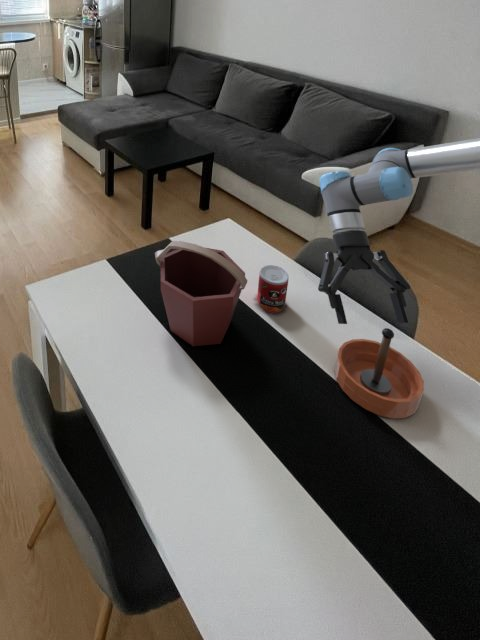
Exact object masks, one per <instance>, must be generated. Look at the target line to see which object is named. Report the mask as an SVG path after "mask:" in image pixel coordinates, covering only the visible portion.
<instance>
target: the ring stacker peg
mask: <svg viewBox="0 0 480 640" xmlns="http://www.w3.org/2000/svg"><path fill="white" fill-rule="evenodd" d="M381 335H382V336H381V341H380V343H381V345H380V348H379V352H378V356H377V360H376V364H375V368H374V370H372V369H366V370H363V371H362V372H361V376H360V381H361V383H362V385H363V386H364V387H365V388H366V389H368V390H370V391H372V392H374V393H376V394H379V395H381V396H385V395H388V394H389V393H390V391H391V383H390V381H389V379H388V378H387V377H386V376H385V375H383V374H382V373H383V369H384V365H385V361H386V358H387V354H388V350H389V347H391V342H392V339H393V338H394V337H395V333H394V331H393V330H392V329H391V328H388V327H386V328H382V331H381Z"/></svg>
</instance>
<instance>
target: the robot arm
mask: <svg viewBox="0 0 480 640" xmlns="http://www.w3.org/2000/svg"><path fill="white" fill-rule="evenodd" d="M475 171H480V137H476V138H471V139H465V140H458V141H453V142H445V143H439V144H433V145H427V146H421V147H416V148H409V149H400V148H395V147H386V148H383V149H381V150H380V151H379V152H378V153H377V154H376V155H375V156H374V157H373V159H372V162H371V165H370V167H369V169H368V171H367V172H366V173H363V174H358V175H354V176H351V173H349V172H348V171H345V170H336V171H330V172H326V173H324V174H322V175H321V176H320V177H319V180H318V181H319V187H320V194H321V196H322V200H323V204H324V208H325V210H326V215H327V219H328V223H329V224H328V225H329V227H330V231H331V232H332V233H333V234H332V240H333V243H334V247H335V251H336V252H332V251H327V252H324V253H323V257H324V258H323V259H324V263H323V268H322V271H321V275H320V280H319V283H318V287H317V288H318V289H317V290H318V291H319V292H320V293H325V295H327V296H328V302H329V305H330V308H331V309H334V310H335V311H334V312H335V315H336V319H337V324H338V325H348V321H347V317H346V313H345V309H344V305H343V301H342V297H341V294H340V293H337V292H338V290H339V288H340V287H341V284H342V283H343V281H344V280H345V278H346V276H347V274H348V273H349V272H351V271H353V272H354V271H367V272H369V273H370V274H372V275H373V276H374V277H375V278H376V279H378V280H379V282H381V283H382V284H383V285H384V286H385V287H387V288H388V289H389V290H390V291H391V292H389V296H390V300H391V304H392V307H393V311H394V314H395V317H396V321H397V323H401V324H408V323H409V320H408V317H407V313H406V309H405V308H407V302H406V299H405V296H404V293H405V292H406V291H407V290H410V289H411V285H410V283H408V281H407V280H406V279H405V278H404V277H403V275H402V274H401V272H399V270H398V269H397V268H396V266H394V264H393V263H392V262H391V260H390V259H389V258H388V255H387V253H386V250H384V249H381V250H377V251H372V249H371V244H370V241H369V237H368V233H367V232H366V231H365V230H366V226H365V222H364V219H363V215H362V212H361V208H360V207H361V206H362V207H363V206H367V205H372V204H378V203H384V202H389V201H398V200H401V199H404V198H409V197H411V196H412V195H413V194H414V187H413V186H414V184H413V182H412V179H418V178H425V177H434V176H442V175H443V176H444V175H451V174H460V173H469V172H475ZM337 260H338V261H339V262H340V265H339V266H338V268H337V271H336V273H335V275H334V276H333V278H332V274H333V270H334V266H335V262H336V261H337ZM374 260H376V261H377V262H378V264H379V265H380V266H381V267H382V269H383V270H384V271H383V270H382V269H381V268H380V267H379V265H378V264H377V263H375V262H374ZM331 279H332V280H331Z"/></svg>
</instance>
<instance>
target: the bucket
mask: <svg viewBox="0 0 480 640" xmlns="http://www.w3.org/2000/svg"><path fill="white" fill-rule="evenodd" d="M170 250H172V251H170ZM169 251H170V252H169ZM154 257H155V263H156V264H157V265H158V266H159V268H160V294H161V297H162V301H163V306H164V309H165V312H166V318H167V321H168V326H169V329H170V332H172V333H173V334H175V335H176V336H177V337H179V338H181V339H182V340H183V341H185V342H186V343H187V344H189V346H190V345H191V346H192V347H202V346H203V347H204V346H212V345H221V344H222V342H223V340H224V337H225V335H226V334H227V331H228V330H229V327H230V325H231V322H232V319H233V316H234V314H235V310H236V308H237V305H238V302H239V299H240V296H241V293H242V290H244V289H245V288H246V287H247V284H248V279H247V278H246V272H245V271H244V270H243V269H242V268H241V267H240V266H239V265H238V264H237V263H236V261H234V260H233V259H232V258H231V257H230V256H229V255H228V254H227V253H226V252H225V251H224V250H221V249H215V248H210V247H205V246H202V245H199V244H196V243H191V242H187V241H182V240H172V241H171V242H170V243H169V244H168V245H167V246H166V247H165V248H164V249H159V250H157V251H156V252H154Z"/></svg>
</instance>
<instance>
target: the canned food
mask: <svg viewBox="0 0 480 640" xmlns="http://www.w3.org/2000/svg"><path fill="white" fill-rule="evenodd" d="M289 277H290V276H289V274H288V272H287V270H285V269H284V268H283V267H280V266H278V265H274V264H267V265H264V266H262V267H261V268H260V270H259V276H258V283H257V293H256V295H257V296H256V300H257V304H258V305H259V307H260V308H261V309H262V310H264V311H266V312H267V313H274V314H275V313H280V312H281V311H283V310H284V308H285V307H286V299H287V292H288V286H289Z"/></svg>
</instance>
